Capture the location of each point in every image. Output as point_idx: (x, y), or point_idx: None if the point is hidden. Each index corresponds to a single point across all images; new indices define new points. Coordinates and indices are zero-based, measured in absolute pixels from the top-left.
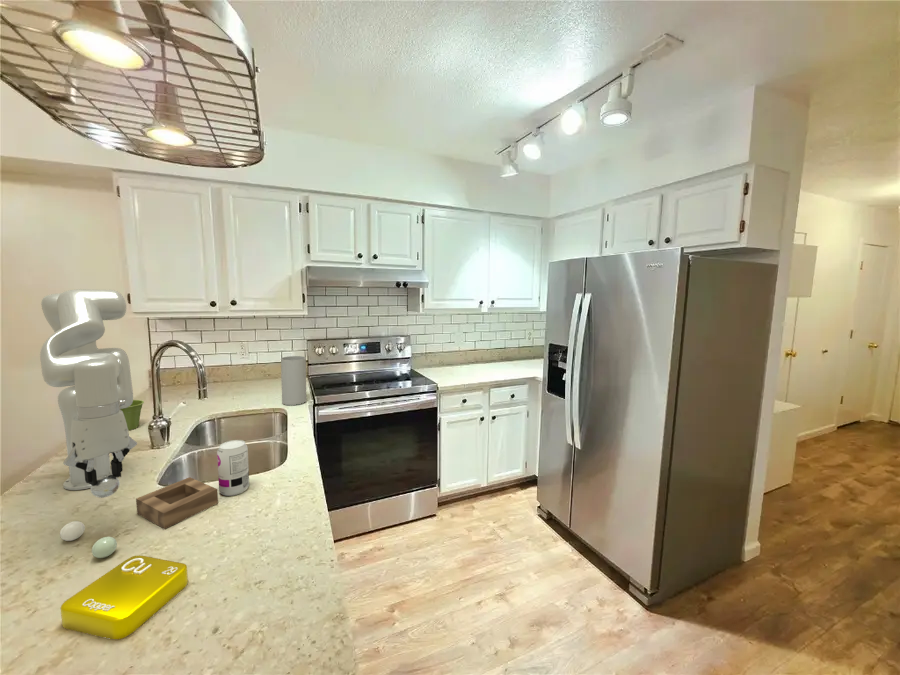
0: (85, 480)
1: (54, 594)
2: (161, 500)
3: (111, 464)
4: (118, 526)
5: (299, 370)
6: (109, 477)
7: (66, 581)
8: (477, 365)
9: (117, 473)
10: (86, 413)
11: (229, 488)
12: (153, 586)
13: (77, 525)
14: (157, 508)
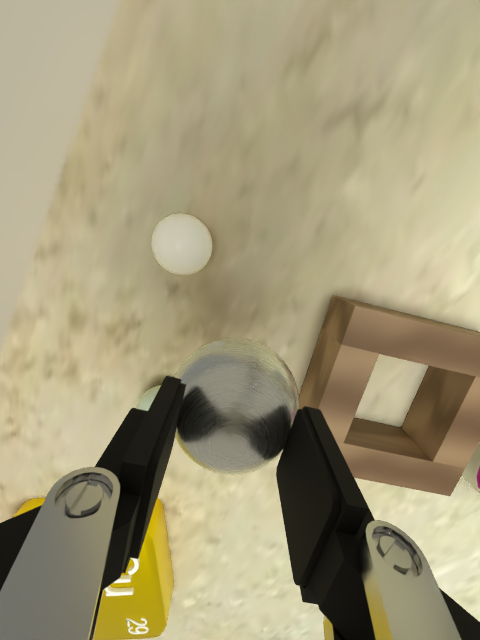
0: (131, 411)
1: (52, 421)
2: (359, 399)
3: (317, 478)
4: (268, 306)
5: None
6: (240, 470)
7: (83, 404)
8: None
9: (282, 495)
10: None
11: (474, 483)
12: (97, 631)
13: (182, 268)
14: None
